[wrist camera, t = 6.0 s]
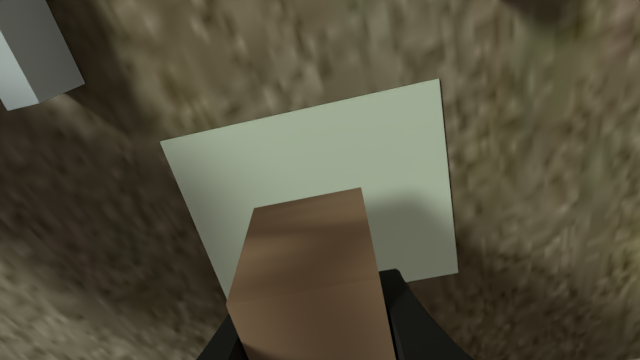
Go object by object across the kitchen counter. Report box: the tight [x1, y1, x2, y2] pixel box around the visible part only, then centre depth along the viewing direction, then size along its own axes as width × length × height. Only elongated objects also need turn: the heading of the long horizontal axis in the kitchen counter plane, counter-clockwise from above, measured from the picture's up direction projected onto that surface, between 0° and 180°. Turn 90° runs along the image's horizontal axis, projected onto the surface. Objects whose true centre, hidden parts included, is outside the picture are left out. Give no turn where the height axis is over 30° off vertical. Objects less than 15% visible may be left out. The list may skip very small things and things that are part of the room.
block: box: [226, 187, 396, 360], centre depth 13 cm, size 4×4×5 cm
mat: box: [160, 79, 458, 299], centre depth 19 cm, size 12×10×1 cm
